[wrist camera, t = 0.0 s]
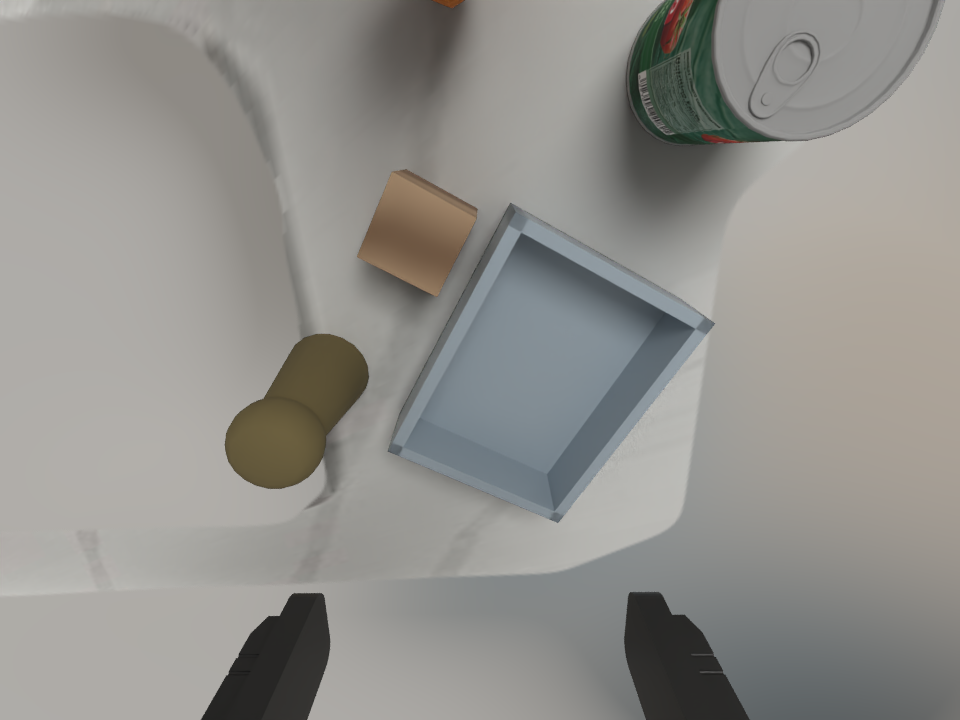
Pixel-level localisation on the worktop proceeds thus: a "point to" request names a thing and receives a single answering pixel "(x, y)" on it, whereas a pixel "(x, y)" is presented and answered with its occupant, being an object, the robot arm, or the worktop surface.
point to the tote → (543, 368)
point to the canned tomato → (771, 66)
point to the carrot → (449, 2)
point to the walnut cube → (417, 231)
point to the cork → (297, 413)
